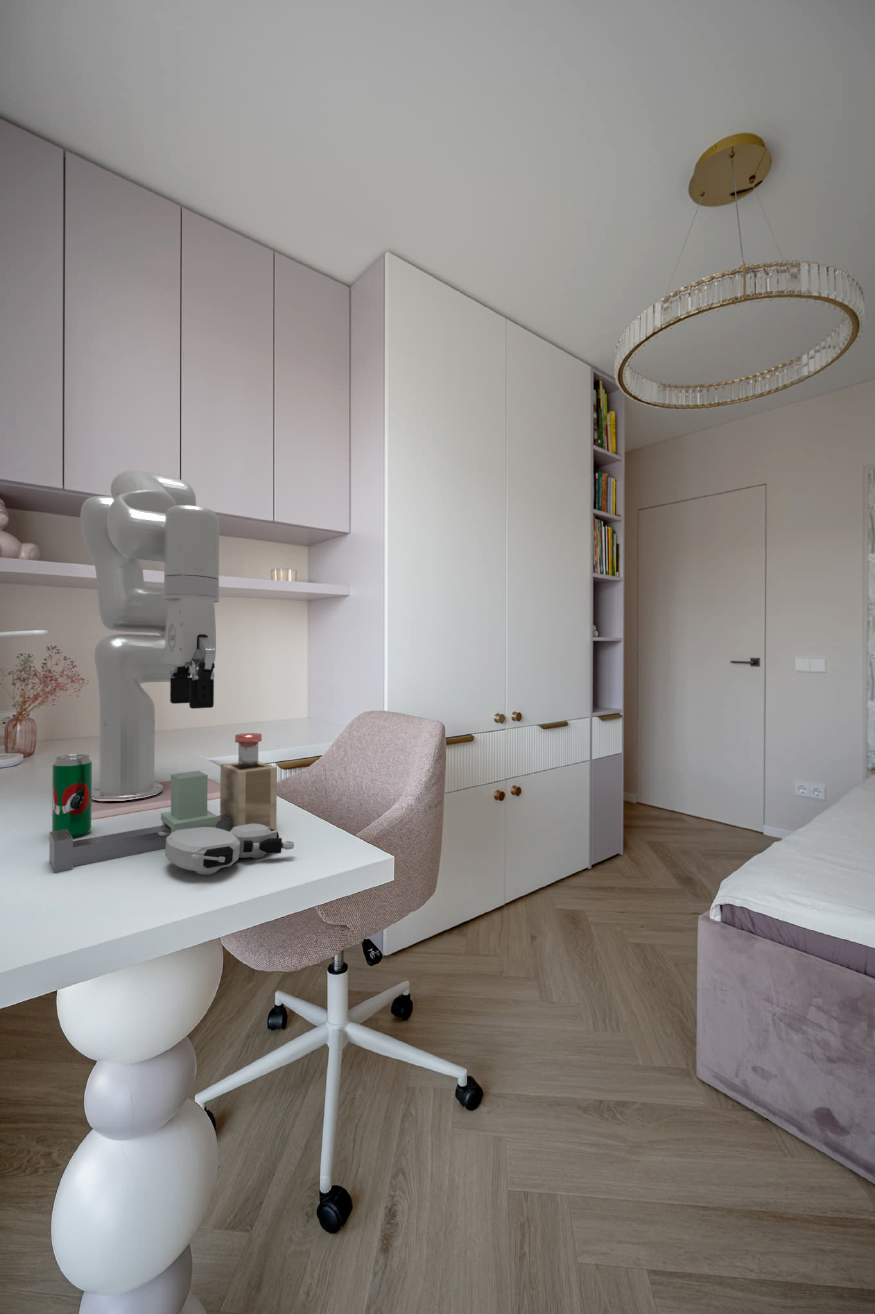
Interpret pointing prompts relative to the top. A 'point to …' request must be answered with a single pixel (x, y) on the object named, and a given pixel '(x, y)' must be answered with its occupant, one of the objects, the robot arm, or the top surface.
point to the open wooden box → (249, 794)
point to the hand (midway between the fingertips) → (191, 705)
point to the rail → (110, 845)
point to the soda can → (72, 794)
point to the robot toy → (220, 846)
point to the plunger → (248, 750)
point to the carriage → (189, 802)
